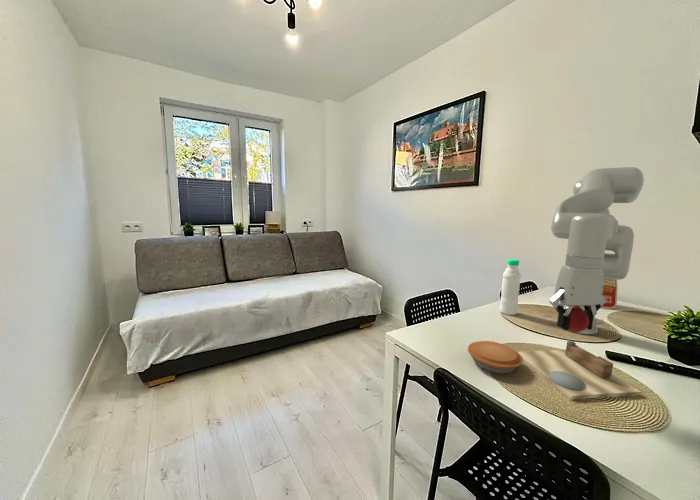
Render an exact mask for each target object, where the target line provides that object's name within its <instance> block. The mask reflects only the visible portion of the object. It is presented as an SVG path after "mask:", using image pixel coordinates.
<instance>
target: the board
mask: <svg viewBox="0 0 700 500" xmlns="http://www.w3.org/2000/svg"><path fill="white" fill-rule="evenodd" d="M517 352H518V353H519V354H520V355H521V356H522V358H523V362H522V363H523V364H525V365H526V366H527V367H529V368H530V369H531V370H532V371H533V372H535V374H537V375H539V376H540V377H541V378H543V379H544V380H545V381H546V382H548V383H549V385H551V386H553V387H554V388H555V389H556V390H558V392H560V393H561V394H563V396H565V397H567V398H568V399H569V400H570V401H576V400H575V399H580V400H587V399H586V398H596V399H604V398H603V397H613V398H620V397H619V396H629V397H633V396H632V395H641V396H642V391H641V390H639V389H637V388H636V387H634V386H633V385H631V384H629V383H627V382H626V381H624V380H622V379H620V378H619V377H617V376H616V375H614V374H611V376H610V377H608V378H602V377H600V376H599V375H597V374H595V373H594V372H592V371H590V370H589V369H587V368H586V367H584V366H582V365H581V364H579V363H577V362H576V361H574V360H573V359H571V358H569V357H568V356H566V355H565V353H566V349H551V350H550V349H549V350H529V351H527V350H525V351H517ZM553 371H561V372H565V373H569V374H571V375H574V376H576V377H578V378H579V379H581V380H582V381H583V382H584V384H585V388H584V389H582V390H572V389H568V388H565V387H562V386H560V385H558V384H556V383H554V382H553V381H552V380H551V379H550V378H549V373H550V372H553Z"/></svg>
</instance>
